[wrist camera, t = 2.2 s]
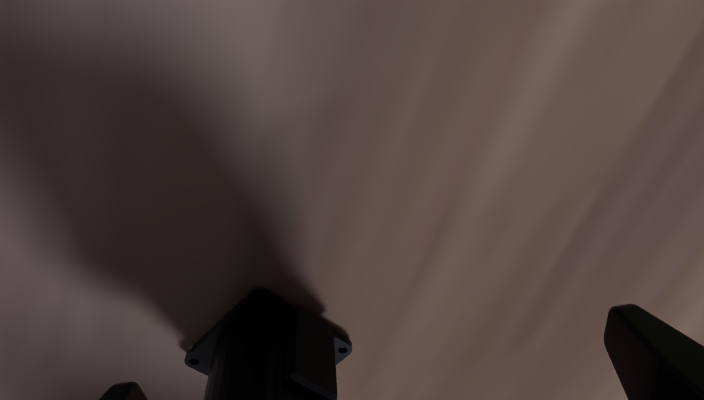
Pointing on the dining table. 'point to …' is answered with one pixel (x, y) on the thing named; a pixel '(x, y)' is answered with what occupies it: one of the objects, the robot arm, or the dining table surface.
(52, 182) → the dining table surface
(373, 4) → the dining table surface
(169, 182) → the dining table surface
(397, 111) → the dining table surface
